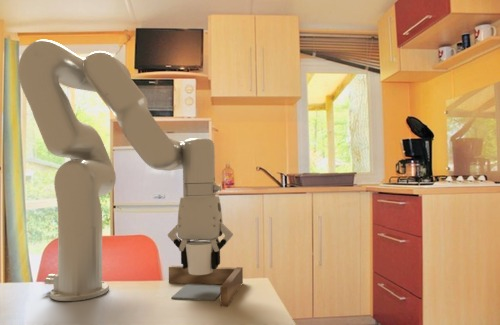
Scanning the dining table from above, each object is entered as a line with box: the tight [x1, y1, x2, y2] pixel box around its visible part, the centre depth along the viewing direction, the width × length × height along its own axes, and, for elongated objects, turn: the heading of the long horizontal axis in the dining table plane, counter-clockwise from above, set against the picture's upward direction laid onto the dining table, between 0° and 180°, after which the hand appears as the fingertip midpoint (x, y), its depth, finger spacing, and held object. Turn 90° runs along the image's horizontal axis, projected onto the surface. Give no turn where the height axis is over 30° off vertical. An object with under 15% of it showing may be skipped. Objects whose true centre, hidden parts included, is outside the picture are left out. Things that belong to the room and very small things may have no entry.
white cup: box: [186, 240, 213, 275], centre depth 87 cm, size 7×7×7 cm
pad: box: [171, 283, 222, 302], centre depth 87 cm, size 10×10×1 cm
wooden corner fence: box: [168, 265, 244, 308], centre depth 88 cm, size 19×17×4 cm
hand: (200, 266), depth 87 cm, fingers closed on white cup, 6 cm apart
